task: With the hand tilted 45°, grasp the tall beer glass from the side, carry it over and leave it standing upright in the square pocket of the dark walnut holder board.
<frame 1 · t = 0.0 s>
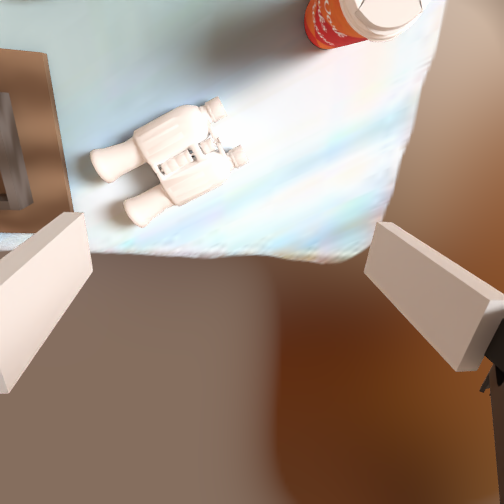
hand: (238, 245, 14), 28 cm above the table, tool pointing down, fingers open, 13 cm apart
paper cup: (327, 21, 35), on the table
binoculars: (176, 158, 39), on the table
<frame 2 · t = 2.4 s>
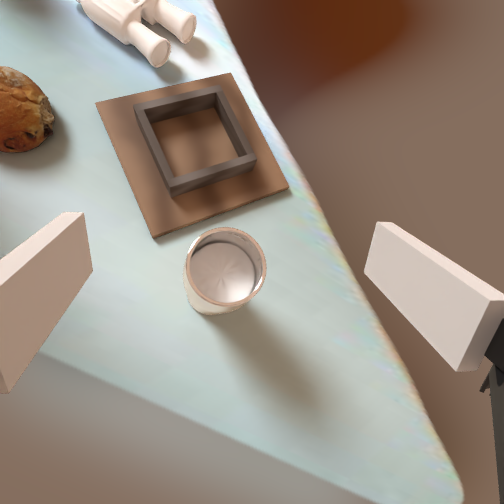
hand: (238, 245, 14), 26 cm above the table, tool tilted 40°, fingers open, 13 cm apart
bread roll: (16, 122, 40), on the table
holder board: (195, 150, 44), on the table
binoculars: (134, 25, 47), on the table
beer glass: (210, 291, 39), on the table
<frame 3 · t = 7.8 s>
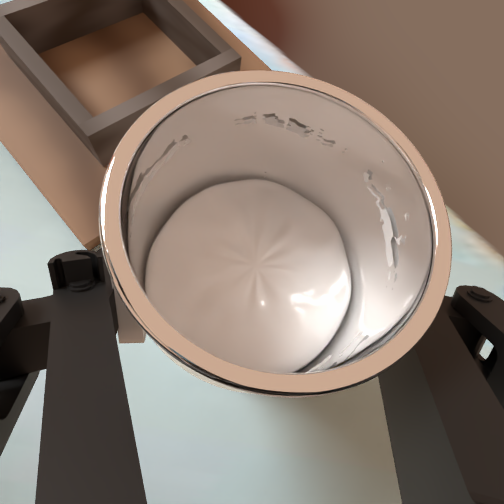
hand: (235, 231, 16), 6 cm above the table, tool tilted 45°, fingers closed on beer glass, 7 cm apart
holder board: (130, 84, 25), on the table
beer glass: (228, 317, 20), on the table, touching gripper
when the fingers open (8 cm above the table, at t = 14.1 s): beer glass drops 1 cm, resting on holder board.
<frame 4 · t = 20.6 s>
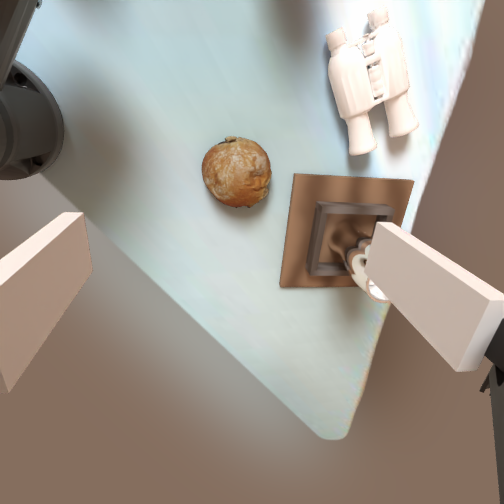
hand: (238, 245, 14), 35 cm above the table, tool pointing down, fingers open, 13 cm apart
bread roll: (237, 171, 47), on the table
holder board: (341, 234, 54), on the table
binoculars: (362, 86, 45), on the table
beer glass: (344, 236, 53), point 1 cm above the table, touching holder board
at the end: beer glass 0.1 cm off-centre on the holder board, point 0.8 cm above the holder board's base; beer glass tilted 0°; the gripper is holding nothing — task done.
